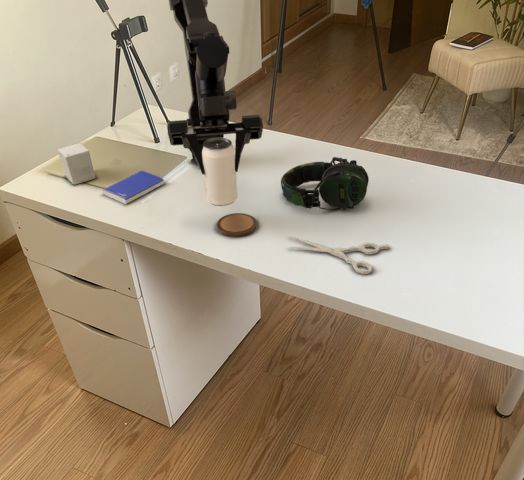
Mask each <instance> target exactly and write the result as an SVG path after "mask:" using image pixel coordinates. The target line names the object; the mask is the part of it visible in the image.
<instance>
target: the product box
mask: <svg viewBox="0 0 524 480" xmlns="http://www.w3.org/2000/svg"><path fill="white" fill-rule="evenodd" d="M57 152H58V156H59V158H60V163H61V166H62V168H63V171H64V175H65V178H66V179H68V180H69V182H71V184H73V186H74V185H75V186H76V185H79V184H82V183H85V182H88V181H92V180H95V179H96V178H97V177H96V173H95V169H94V166H93V162H92V157H91V154H90V151H89V149H88V148H86V146H84V145H83V144H82V143H81V142H78V143H75V144H70V145H67V146H63V147H60V148H57Z"/></svg>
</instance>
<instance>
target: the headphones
mask: <svg viewBox="0 0 524 480" xmlns="http://www.w3.org/2000/svg"><path fill="white" fill-rule="evenodd" d="M336 162H338V163H336ZM369 181H370V178H369V174H368V172H367V170H366V169H365V168H364V167H363V166H362V165H358V163H357V160H356V159H355V160H354V159H352V160H350V161H348V159H347V158H342V157H337V156H334V157H332V159H331V161H330V162H324V161H312V162H307V163H306V162H305V163H303V164H300V165H299V164H298V165H296V166H294V167H292V168H290V169H289V170H287V171H286V172H285V173H284V174H283V175H282V176H281V178H280V187H281V191H282V195H283V197H284V198H285V200H286V201H287V202H288V203H290V204H293V205H295V206H298V207H303V208H304V209H309V210H311V209H312V208H319V209H320V210H322V211H338V210H342V211H347V210H353V209H354V208H355V207H357V206H358V205H360V204H361V202H363V200H364V199H365V197H366V194H367V191H368V187H369ZM311 182H312V183H313V182H318V183H317V184H316V186H315V187H314V189H307V188H300V186H301V185H303V184H308V183H311ZM320 198H321V200H322V201H323V202H324V203H325V204H327V205H329V206H331V207H332V208H325V207H321V201H320Z"/></svg>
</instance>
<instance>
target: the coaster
mask: <svg viewBox="0 0 524 480" xmlns="http://www.w3.org/2000/svg"><path fill="white" fill-rule="evenodd" d="M257 228H258V220H257V219H256V218H255V217H254V216H252V215H250V214H248V213H243V212H235V213H229V214H226V215H223V216H222V217H220V218H219V219H218V220H217V222H216V229H217V231H218V233H219V234H221V235H222V236H225V237H229V238H243V237H247V236H249V235H251V234H253V233H254V232H255V231H256V230H257Z"/></svg>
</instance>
